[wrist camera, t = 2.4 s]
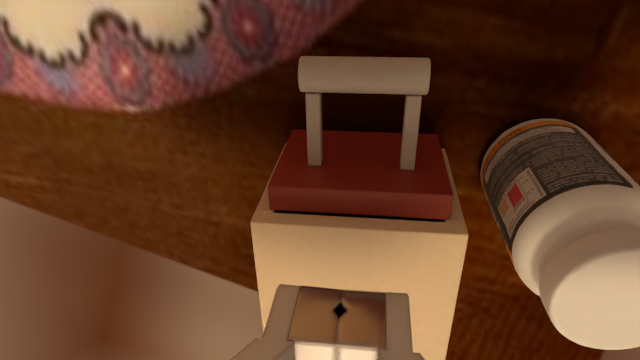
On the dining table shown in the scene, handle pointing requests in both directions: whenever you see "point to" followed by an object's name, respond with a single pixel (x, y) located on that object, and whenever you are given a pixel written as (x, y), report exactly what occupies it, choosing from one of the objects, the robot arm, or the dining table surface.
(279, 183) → the drawer
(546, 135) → the pill bottle
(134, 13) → the dining table surface
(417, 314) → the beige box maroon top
